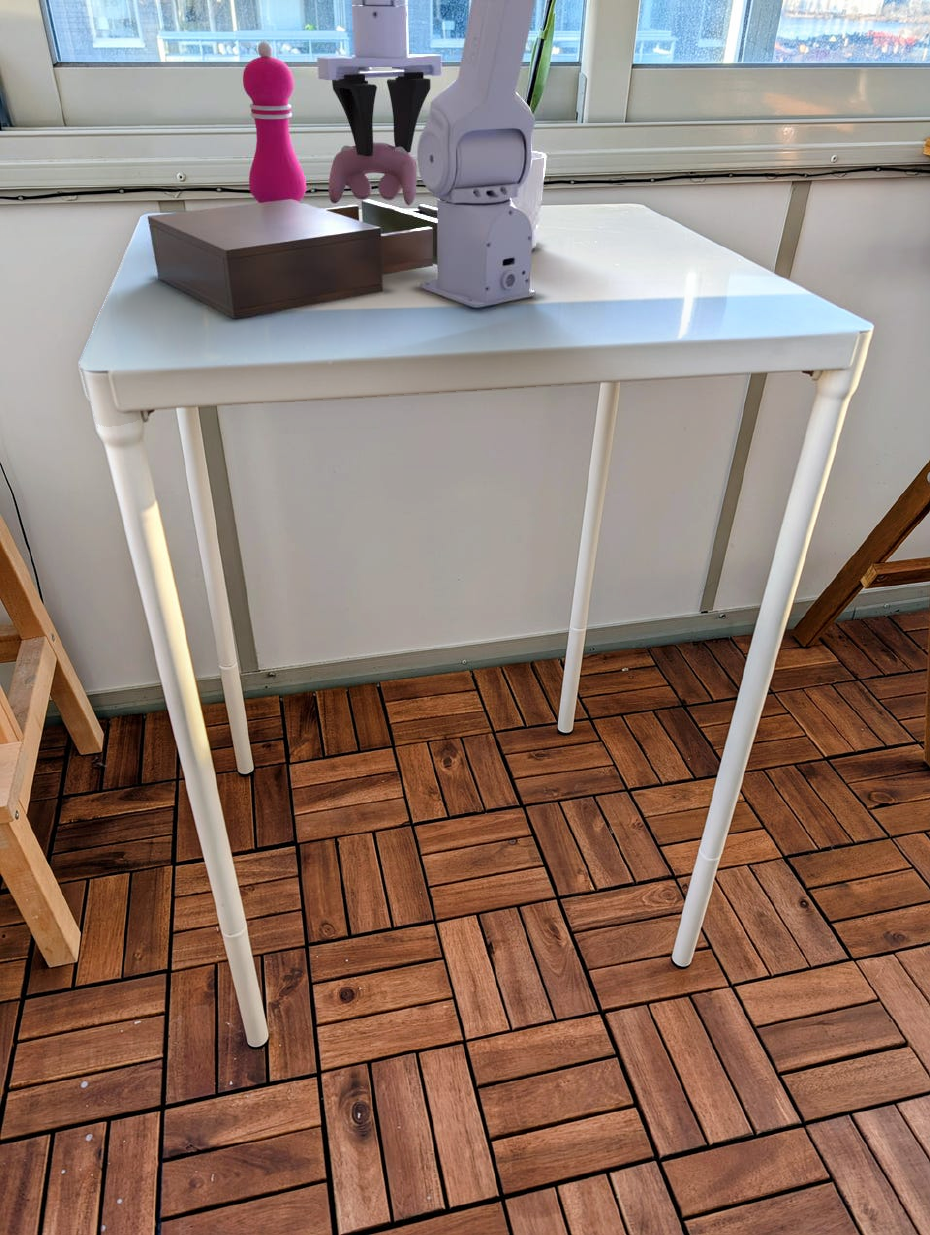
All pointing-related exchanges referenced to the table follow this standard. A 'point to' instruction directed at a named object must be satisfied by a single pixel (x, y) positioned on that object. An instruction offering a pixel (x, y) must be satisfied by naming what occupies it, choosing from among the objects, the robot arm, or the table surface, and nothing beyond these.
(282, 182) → the pepper mill
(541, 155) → the white cup
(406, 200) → the video game controller
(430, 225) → the drawer
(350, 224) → the cabinet
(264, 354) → the table surface
